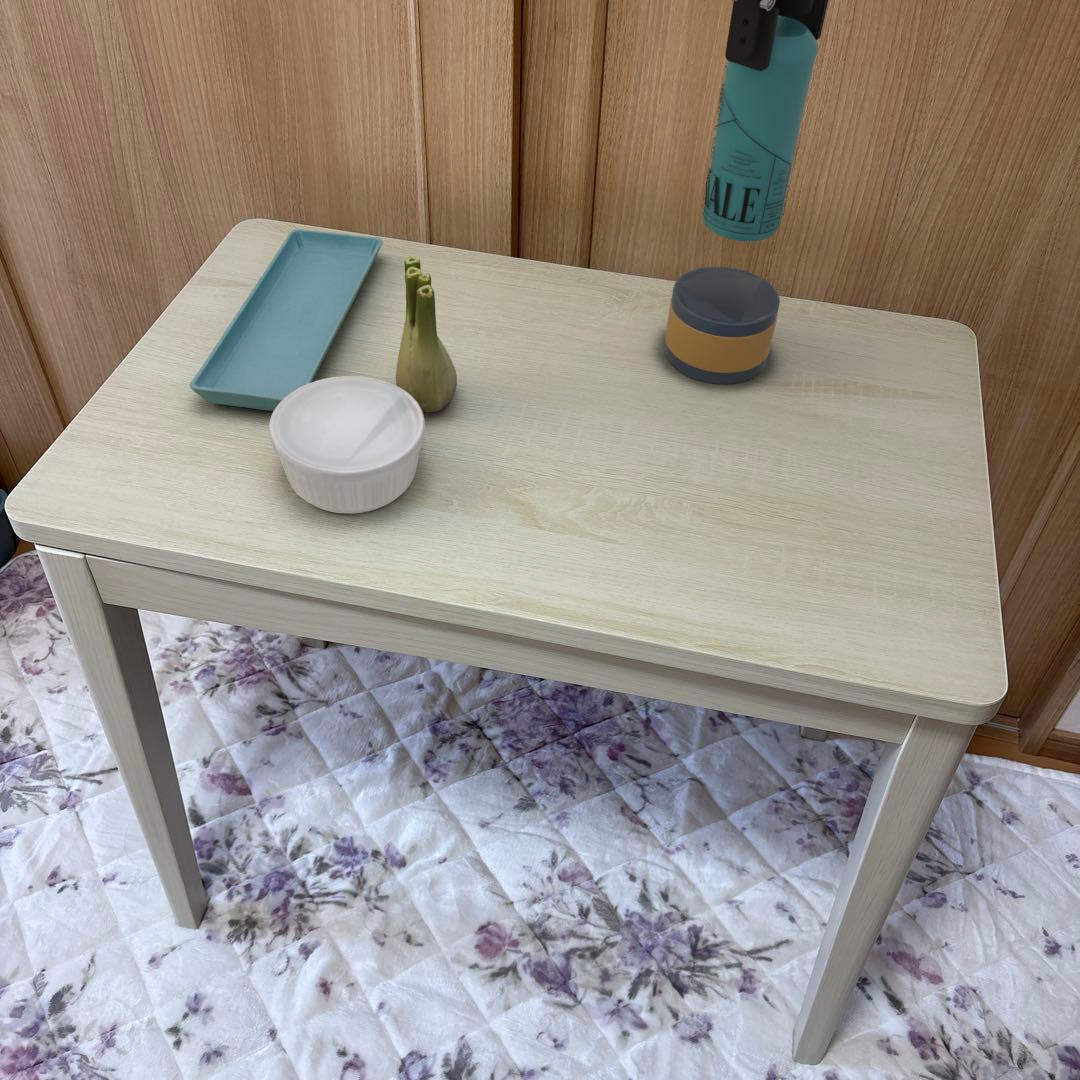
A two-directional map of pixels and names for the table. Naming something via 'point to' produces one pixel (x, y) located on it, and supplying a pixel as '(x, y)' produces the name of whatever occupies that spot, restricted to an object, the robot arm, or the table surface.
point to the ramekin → (348, 442)
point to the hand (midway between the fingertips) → (773, 47)
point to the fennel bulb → (423, 345)
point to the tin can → (721, 324)
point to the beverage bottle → (760, 133)
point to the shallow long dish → (287, 320)
